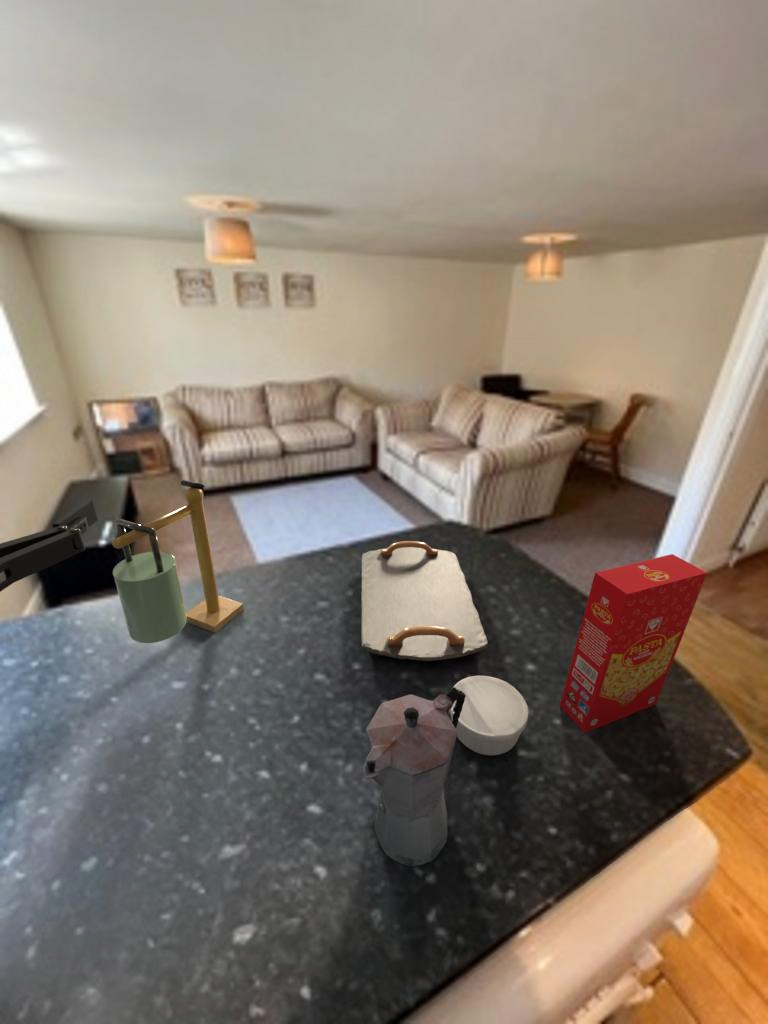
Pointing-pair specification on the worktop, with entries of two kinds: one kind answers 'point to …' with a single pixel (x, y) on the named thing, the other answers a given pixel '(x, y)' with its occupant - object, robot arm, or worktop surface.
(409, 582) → the serving tray
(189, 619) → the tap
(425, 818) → the moka pot
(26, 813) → the worktop surface
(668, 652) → the food packaging
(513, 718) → the ramekin
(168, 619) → the green hanging weight
